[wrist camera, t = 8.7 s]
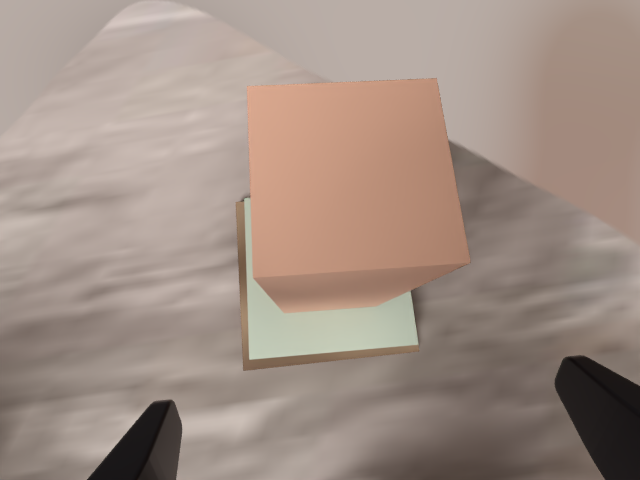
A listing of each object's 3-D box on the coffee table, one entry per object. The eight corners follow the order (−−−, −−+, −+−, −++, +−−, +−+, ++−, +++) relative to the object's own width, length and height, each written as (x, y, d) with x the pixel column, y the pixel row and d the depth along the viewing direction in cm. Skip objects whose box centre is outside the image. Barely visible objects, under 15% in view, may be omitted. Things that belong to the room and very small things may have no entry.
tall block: (375, 306, 20) (470, 262, 8) (284, 313, 20) (252, 277, 8) (366, 219, 21) (436, 78, 10) (279, 224, 21) (246, 86, 10)
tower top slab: (410, 344, 21) (418, 344, 20) (252, 358, 21) (249, 359, 19) (389, 198, 24) (395, 189, 22) (247, 207, 23) (244, 198, 21)
